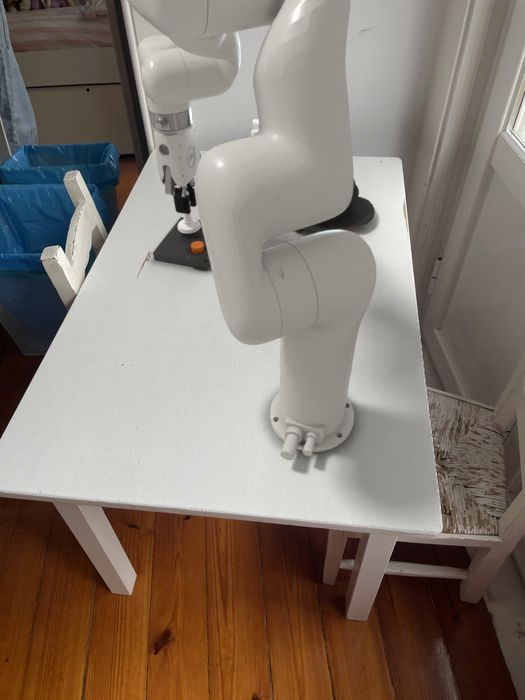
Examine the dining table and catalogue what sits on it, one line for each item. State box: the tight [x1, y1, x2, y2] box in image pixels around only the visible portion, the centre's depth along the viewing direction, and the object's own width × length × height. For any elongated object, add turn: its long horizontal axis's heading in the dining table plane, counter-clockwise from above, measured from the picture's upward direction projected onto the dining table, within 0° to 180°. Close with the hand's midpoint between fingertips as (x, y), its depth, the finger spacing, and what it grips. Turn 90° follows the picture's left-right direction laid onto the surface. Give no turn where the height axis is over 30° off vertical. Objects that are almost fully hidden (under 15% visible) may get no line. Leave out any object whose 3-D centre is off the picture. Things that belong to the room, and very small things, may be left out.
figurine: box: [250, 118, 259, 137], centre depth 118 cm, size 7×9×15 cm
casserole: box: [301, 179, 376, 232], centre depth 108 cm, size 25×19×8 cm
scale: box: [152, 216, 211, 271], centre depth 103 cm, size 15×12×4 cm
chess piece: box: [177, 185, 201, 233], centre depth 100 cm, size 5×5×10 cm
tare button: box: [191, 241, 204, 254], centre depth 98 cm, size 3×3×1 cm
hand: (186, 208), depth 100 cm, fingers closed on chess piece
